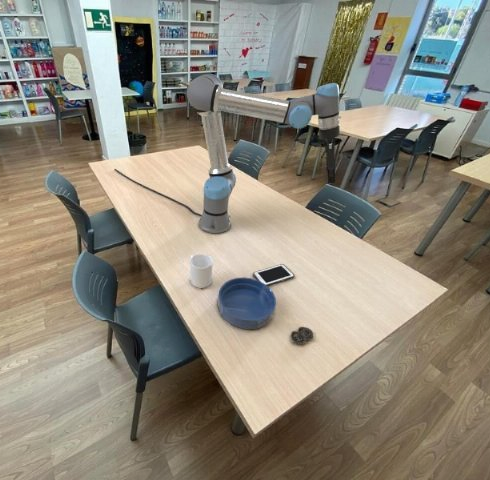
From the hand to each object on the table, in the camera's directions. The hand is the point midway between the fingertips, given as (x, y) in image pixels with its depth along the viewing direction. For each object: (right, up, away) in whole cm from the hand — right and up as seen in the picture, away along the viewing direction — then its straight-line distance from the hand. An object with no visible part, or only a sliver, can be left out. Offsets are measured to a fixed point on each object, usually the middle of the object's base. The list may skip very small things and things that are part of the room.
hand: (330, 176), depth 123 cm
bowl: (-43, -51, -25) cm, 71 cm away
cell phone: (-29, -42, -13) cm, 53 cm away
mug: (-59, -43, -14) cm, 74 cm away
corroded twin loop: (-27, -59, -35) cm, 73 cm away
